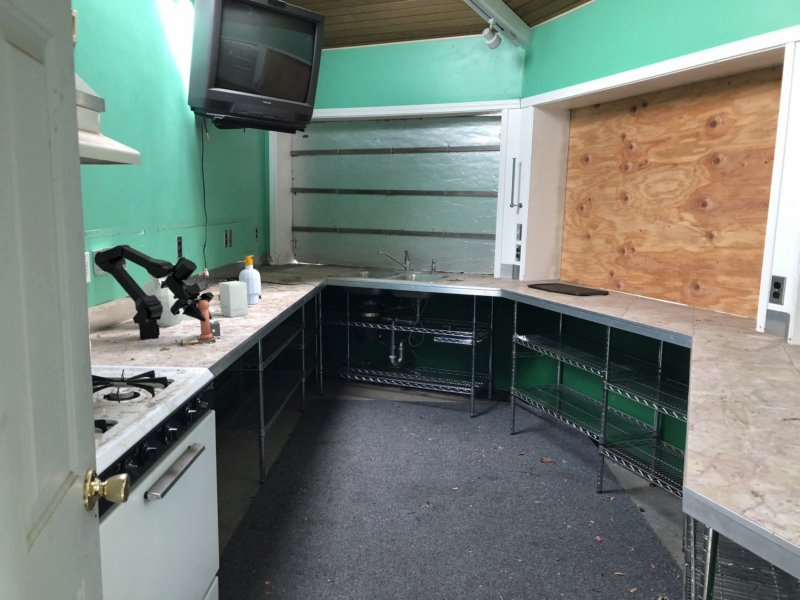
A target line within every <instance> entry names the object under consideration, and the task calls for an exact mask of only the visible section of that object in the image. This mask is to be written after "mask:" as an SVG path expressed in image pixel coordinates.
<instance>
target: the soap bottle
mask: <svg viewBox="0 0 800 600" xmlns="http://www.w3.org/2000/svg"><path fill="white" fill-rule="evenodd" d="M254 256H255V255H246V256H245V259H244V267H245V269H242V270H241V271H240V272H239V274H238V275H239V276H238V281H240V282H246V288H247V304H248V306H253V305H258V304H259V303H260V297H259V296H260V295H259V294H260V293H261V292H262V285H261V284H262V283H261V275H260V272H259V270H257V269H255V268H254V267H253V266H254V264H253V258H252V257H254Z"/></svg>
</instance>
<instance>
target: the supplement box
mask: <svg viewBox="0 0 800 600" xmlns="http://www.w3.org/2000/svg"><path fill="white" fill-rule="evenodd" d="M218 287H219V299H220V300H219V301H220V303H219V304H220V314H221V316H223V315H224V317H227V316H228V317H227V318H237V317H241V316H247V315H249V308H248V306H249V305H248V304H247V288H246V282H240V281H239V280H231V281H223V282H218Z"/></svg>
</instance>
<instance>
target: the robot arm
mask: <svg viewBox="0 0 800 600" xmlns="http://www.w3.org/2000/svg"><path fill="white" fill-rule="evenodd" d="M123 259H126V260H127V261H130V262H132V263H133V264H135V265H138V266H140V267H142V268H143V269H145V270H146V272H147V273H148V275H149V274H150V275H152V276H153V277H154V278H157V279H160V278H165V277H167V278H166V279H165V281H161V289H163V288H167V287H168V289H169V290H170V291H171V292H172V293H173V294H174V297H173V298H174V299H178V300H177V301H176V302H175V303H174V304H173V306H172V307H171V308H170V311H171V313H172V314H173V315H178V314H179V313H180V311H179V309H181V308H183V310H184V312H183V313H182V314H183V315H186V316H187V317H190V318H193V319H196V320H197V321H200V320H201V321H203V322H205V321H206V319H205V317H204V316H203V315H202V313H201V312H200V311H199V308H198V303H199V302H200V301H202V300H206V301H208V303H209V304H210V302H211V301H212V300H213V299H214V298H215V295H214V294H213V293H212V291H206V290H208V286H209V285H208V282H207V281H205V280H204V279H201V280H199V281H197V282H195V283H193V284H187V283H186V282H185V281H188V280H189V279H190V278H191V276H192V275H193V274H195V271H197V268H198V267H197V264H196V263H195V262H194V261H192V260H190V259H188V258H186V257H185V256H182V257H179V258H178V260H177V262H176V263H175V264H176V265H173V264H174V263H172V262H170V261H168V260H164V259H159V258H158V259H157V258H153V257H151V256H149V255H148V254H145V253H143V252H141V251H139V250H137V249H135V248H133V247H132V246H130V245H128V244H118V245H115V246H113V247H112V248H109V249H106V250H103V251H97V252H96V253H95V254H94V258H93V261H94V263H95V265H96V267H98V268H99V269H100V270H101V271H104V272H105V273H107V274H110V275H111V276H112V277H113V278H114V279H115V281H116V282H117V283H118V284H119V285H120V287H121V288H122V289H123V290H124V292H125V293H127V294H128V296H129V297H130V298H131V300H132V301H133V302H134V306H135V311H136V313H135V315H133V317H132V321H133V323H134V324H137V325H138V331H139V340H150V338H152V339H157V338H160V334H161V333H160V332H161V331H160V326H159V324H157V320H160V319H161V315H162V312H163V306H162V304H161V303H162V302H161V301H159V300H158V299H157V297H156V296H155V295H151V296H148V295H147V294H146V293H145V292H144V291H143V289H142V287H141V286H140V285H139V284H138V282H137V281H136V280H135V279H134V278H133V277H132V276H131V275H130V274H129V272H128V271H127V270H126V269H125V267H124V266H123ZM150 275H149V276H150ZM203 291H206V292H203ZM201 292H202V294H201ZM212 319H213V317H212V314H211V312H210V311H209V321H211V320H212Z"/></svg>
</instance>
